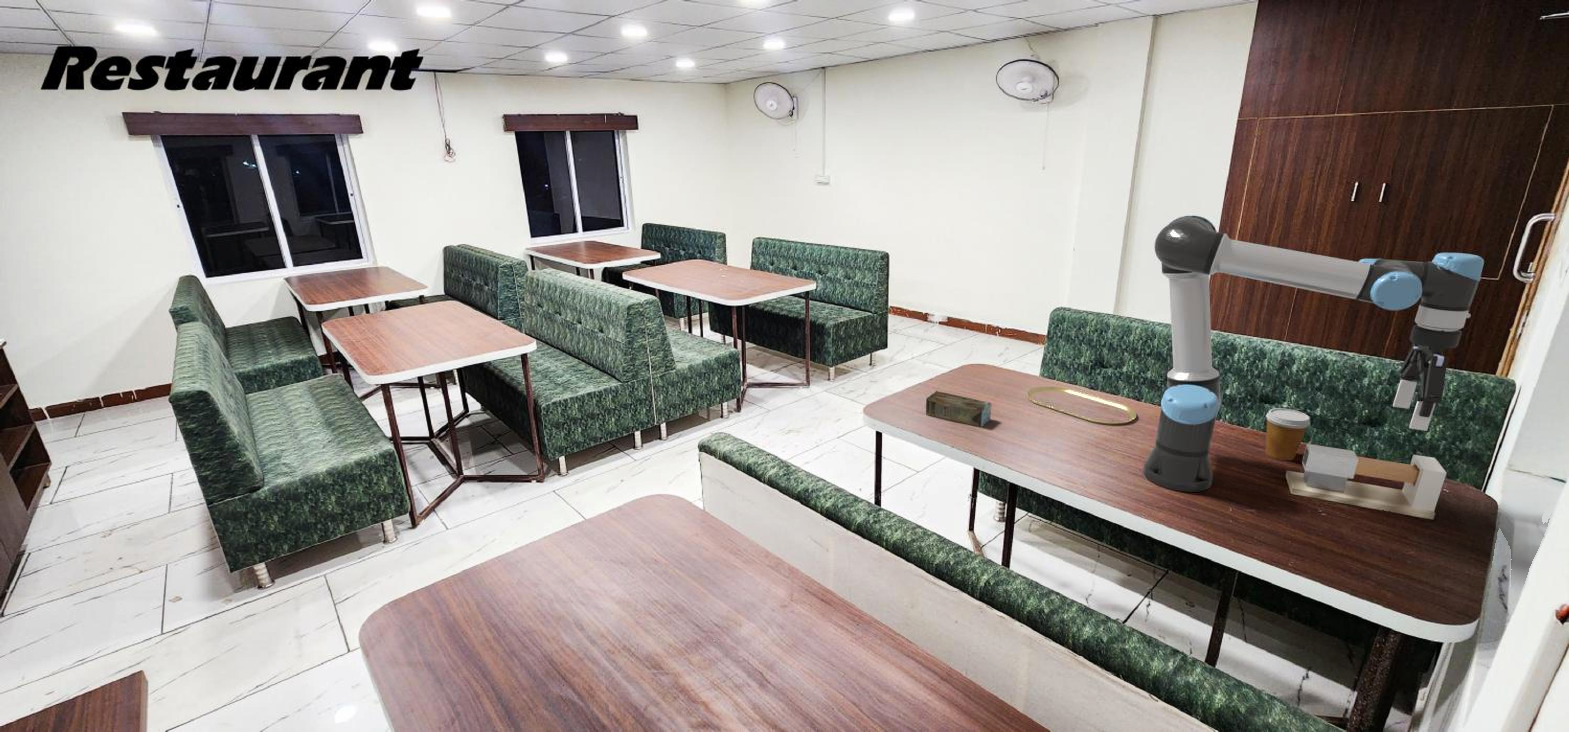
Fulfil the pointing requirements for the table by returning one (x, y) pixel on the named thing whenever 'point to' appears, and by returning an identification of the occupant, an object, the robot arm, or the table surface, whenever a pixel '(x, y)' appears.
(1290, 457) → the disposable coffee cup
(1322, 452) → the sleeve
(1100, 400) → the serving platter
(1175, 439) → the robot arm
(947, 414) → the beverage carton
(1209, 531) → the table surface
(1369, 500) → the bench board
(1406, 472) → the brown wooden bar
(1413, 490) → the socket block
